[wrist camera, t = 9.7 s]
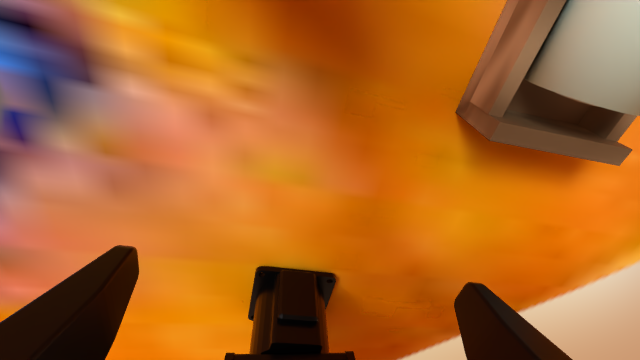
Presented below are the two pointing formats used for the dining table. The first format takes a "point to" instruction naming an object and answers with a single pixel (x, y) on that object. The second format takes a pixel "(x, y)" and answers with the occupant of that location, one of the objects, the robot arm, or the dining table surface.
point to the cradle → (535, 94)
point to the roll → (593, 55)
